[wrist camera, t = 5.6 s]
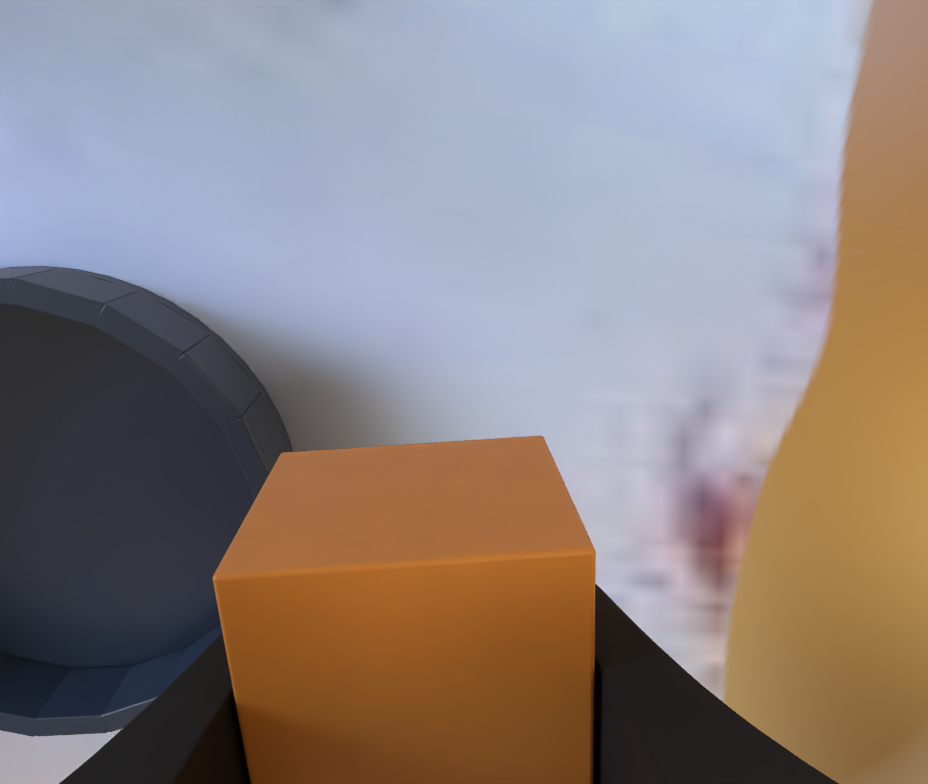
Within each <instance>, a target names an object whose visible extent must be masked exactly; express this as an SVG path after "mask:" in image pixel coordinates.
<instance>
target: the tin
mask: <svg viewBox="0 0 928 784" xmlns="http://www.w3.org/2000/svg"><path fill="white" fill-rule="evenodd" d="M284 452H292V448H291V444H290V440H289V438H288V435H287V433H286V430H285V428H284V425H283V423H282V420H281V418H280V415H279V413H278V411H277V409H276V408H275V406H274V404H273V402H272V401H271V399H270V397H269V395H268V394H267V392H266V390H265V388H264V387H263V386H262V384H261V383H260V381H259V380H258V379H257V377H256V376H255V375H254V373H253V372H252V371H251V369H250V368H249V367H248V365H247V364H246V363H245V362H244V361H243V360H242V359H241V358H240V357H239V356H238V355H237V354H236V352H235V351H234V350H233V349H232V348H231V347H230V346H229V345H228V344H227V343H226V342H225V341H224V340H223V339H222V338H220V337H219V336H218V335H217V334H215V333H214V332H213V331H212V330H211V329H209V328H208V327H207V326H206V325H204V324H203V323H202V322H201V321H200V320H198V319H197V318H195V317H194V316H192V315H190V314H189V313H187V312H186V311H184V310H183V309H181V308H179V307H178V306H176V305H175V304H173V303H172V302H170V301H168V300H166V299H164V298H162V297H159V296H157V295H155V294H153V293H151V292H149V291H147V290H145V289H143V288H141V287H138V286H135V285H132V284H129V283H127V282H124V281H121V280H118V279H115V278H112V277H109V276H105V275H100V274H96V273H91V272H87V271H82V270H78V269H69V268H58V267H48V266H30V267H8V268H2V269H0V730H2V731H7V732H12V733H17V734H23V735H28V736H35V735H36V736H54V735H74V734H94V733H107V732H108V731H109V732H112V731H115V730H119V729H122V728H124V727H125V726H126V725H127V724H129V723H130V722H131V721H132V720H133V719H134V718H135V717H136V716H137V715H138V714H140V713H141V712H142V711H143V710H144V709H145V708H146V707H147V706H148V705H149V704H151V703H152V702H153V701H154V700H155V699H156V698H157V697H158V696H159V695H160V694H161V693H162V692H163V691H164V690H165V689H166V688H167V687H168V686H169V685H170V684H171V683H172V682H173V681H174V680H175V679H176V678H177V677H178V676H179V675H180V674H181V673H182V672H183V671H184V670H185V669H186V668H187V667H188V666H189V665H190V664H191V663H193V662H194V661H195V660H196V659H197V658H198V656H199V655H200V654H201V653H202V652H203V651H204V650H205V649H206V648H207V647H208V646H209V645H210V644H211V643H212V642H213V641H214V640H215V639H216V638H217V637H218V636H219V635H220V634H221V633H222V627H221V622H220V616H219V611H218V605H217V600H216V595H215V589H214V584H213V576H214V573H215V572H216V570H217V568H218V566H219V564H220V563H221V561H222V559H223V557H224V555H225V553H226V552H227V550H228V548H229V546H230V544H231V543H232V541H233V539H234V537H235V535H236V534H237V532H238V530H239V528H240V526H241V525H242V523H243V521H244V519H245V517H246V515H247V514H248V512H249V510H250V508H251V506H252V505H253V503H254V501H255V499H256V497H257V496H258V494H259V492H260V490H261V488H262V487H263V485H264V483H265V481H266V479H267V477H268V476H269V474H270V472H271V470H272V468H273V467H274V465H275V463H276V461H277V459H278V458H279V456H280V454H281V453H284Z"/></svg>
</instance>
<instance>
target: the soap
mask: <svg viewBox="0 0 928 784" xmlns="http://www.w3.org/2000/svg"><path fill="white" fill-rule="evenodd" d="M595 556H596V551H595V549H594V547H593V545H592V543H591V540H590V538H589V536H588V534H587V532H586V530H585V527H584V525H583V523H582V521H581V519H580V516H579V514H578V512H577V510H576V508H575V505H574V503H573V501H572V499H571V497H570V494H569V492H568V490H567V488H566V486H565V483H564V481H563V479H562V477H561V475H560V472H559V470H558V468H557V466H556V464H555V462H554V459H553V457H552V455H551V453H550V451H549V448H548V446H547V444H546V442H545V440H544V437H542V436H529V437H513V438H498V439H483V440H468V441H452V442H437V443H422V444H406V445H391V446H376V447H360V448H345V449H330V450H314V451H299V452H284V453H281V454H280V456H279V458H278V459H277V461H276V463H275V465H274V467H273V468H272V470H271V472H270V474H269V476H268V477H267V479H266V481H265V483H264V485H263V487H262V488H261V490H260V492H259V494H258V496H257V497H256V499H255V501H254V503H253V505H252V506H251V508H250V510H249V512H248V514H247V515H246V517H245V519H244V521H243V523H242V525H241V526H240V528H239V530H238V532H237V534H236V535H235V537H234V539H233V541H232V543H231V544H230V546H229V548H228V550H227V552H226V553H225V555H224V557H223V559H222V561H221V563H220V564H219V566H218V568H217V570H216V572H215V573H214V576H213V584H214V589H215V595H216V600H217V605H218V611H219V616H220V622H221V627H222V632H223V638H224V643H225V649H226V654H227V659H228V665H229V670H230V676H231V681H232V687H233V692H234V697H235V703H236V708H237V714H238V719H239V724H240V730H241V735H242V741H243V746H244V751H245V757H246V762H247V768H248V773H249V778H250V784H593V776H594V666H595Z"/></svg>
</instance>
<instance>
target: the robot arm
mask: <svg viewBox="0 0 928 784" xmlns="http://www.w3.org/2000/svg"><path fill="white" fill-rule="evenodd" d="M59 784H250V778H249V773H248V768H247V762H246V757H245V751H244V746H243V741H242V735H241V730H240V724H239V719H238V714H237V708H236V703H235V697H234V692H233V687H232V681H231V676H230V670H229V665H228V659H227V654H226V649H225V643H224V638H223V632H222V633H221V634H220V635H219V636H218V637H217V638H216V639H215V640H214V641H213V642H212V643H211V644H210V645H209V646H208V647H207V648H206V649H205V650H204V651H203V652H202V653H201V654H200V655H199V656H198V658H197V659H196V660H195V661H194V662H193V663H191V664H190V665H189V666H188V667H187V668H186V669H185V670H184V671H183V672H182V673H181V674H180V675H179V676H178V677H177V678H176V679H175V680H174V681H173V682H172V683H171V684H170V685H169V686H168V687H167V688H166V689H165V690H164V691H163V692H162V693H161V694H160V695H159V696H158V697H157V698H156V699H155V700H154V701H153V702H152V703H151V704H149V705H148V706H147V707H146V708H145V709H144V710H143V711H142V712H141V713H140V714H138V715H137V716H136V717H135V718H134V719H133V720H132V721H131V722H130V723H129V724H127V725H126V726H125V727H124V728H123V729H122V730H121V731H120V732H119V733H118V734H116V735H115V736H114V737H113V738H112V739H111V740H110V741H109V742H108V743H106V744H105V745H104V746H103V747H102V748H101V749H100V750H99V751H98V752H97V753H95V754H94V755H93V756H92V757H91V758H90V759H88V760H87V761H86V762H85V763H84V764H82V765H81V766H80V767H79V768H78V769H76V770H75V771H74V772H73V773H72V774H70V775H69V776H68V777H67V778H66V779H64V780H63V781H62V782H61V783H59ZM593 784H838V783H837V782H835V781H833V780H832V779H830V778H829V777H827V776H826V775H824V774H823V773H821V772H820V771H818V770H816V769H815V768H813V767H812V766H810V765H809V764H807V763H806V762H804V761H803V760H801V759H800V758H798V757H797V756H795V755H794V754H793V753H791V752H790V751H788V750H787V749H786V748H784V747H783V746H781V745H780V744H778V743H777V742H775V741H774V740H772V739H771V738H770V737H768V736H767V735H765V734H764V733H762V732H761V731H760V730H758V729H757V728H756V727H754V726H753V725H751V724H750V723H749V722H747V721H746V720H745V719H744V718H742V717H741V716H740V715H738V714H737V713H736V712H734V711H733V710H732V709H730V708H729V707H728V706H727V705H726V704H724V703H723V702H722V701H721V700H719V699H718V698H717V697H716V696H715V695H713V694H712V693H711V692H710V691H708V690H707V689H706V688H705V687H703V686H702V685H701V684H700V683H699V682H698V681H697V680H695V679H694V678H693V677H692V676H691V675H690V674H688V673H687V672H686V671H685V670H684V669H683V668H682V667H681V666H680V665H679V664H677V663H676V662H675V661H674V660H673V659H672V658H671V657H670V656H669V655H668V654H667V653H665V652H664V651H663V650H662V649H661V648H660V647H659V646H658V645H657V644H656V643H655V642H654V641H653V640H652V639H650V638H649V637H648V636H647V635H646V634H645V633H644V632H643V631H642V630H641V629H640V628H639V627H638V626H637V625H636V624H635V623H634V622H633V621H632V620H631V619H630V618H629V617H628V616H627V615H626V614H625V613H624V612H623V611H622V610H621V609H620V608H619V607H618V606H617V605H616V604H615V603H614V602H613V601H612V600H611V599H610V598H609V597H608V595H607V594H606V593H605V592H604V591H603V590H602V589H601V588H600V587H599V586H597V585H596V584H595V666H594V776H593Z"/></svg>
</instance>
